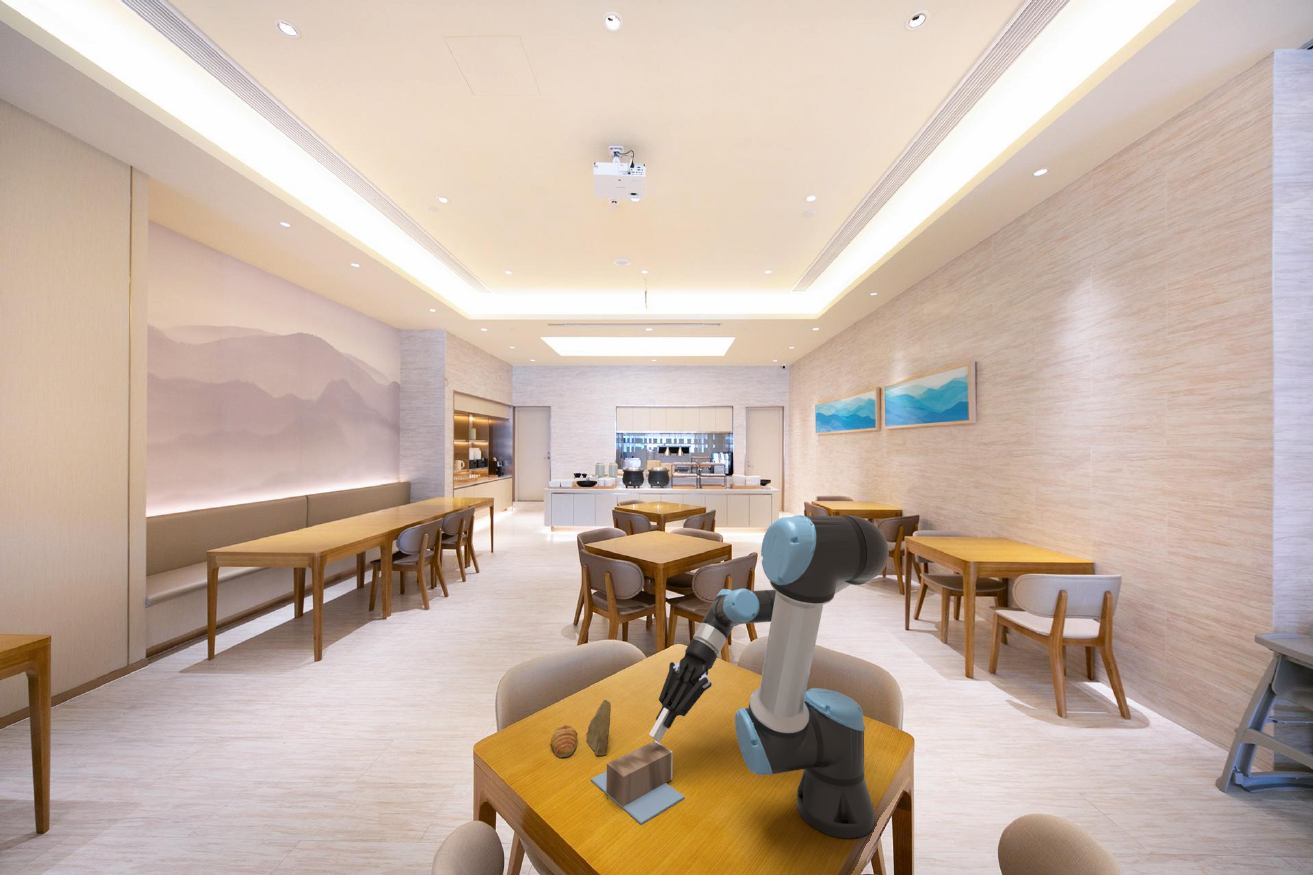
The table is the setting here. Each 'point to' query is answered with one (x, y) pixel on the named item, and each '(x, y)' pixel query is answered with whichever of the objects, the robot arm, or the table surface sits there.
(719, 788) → the table surface
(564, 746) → the pastry
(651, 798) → the mat
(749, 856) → the table surface
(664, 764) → the walnut block
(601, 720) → the rock
